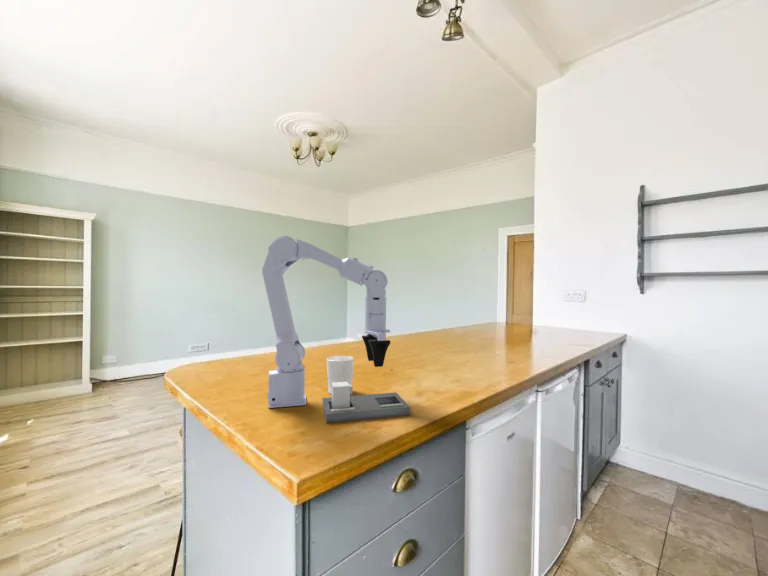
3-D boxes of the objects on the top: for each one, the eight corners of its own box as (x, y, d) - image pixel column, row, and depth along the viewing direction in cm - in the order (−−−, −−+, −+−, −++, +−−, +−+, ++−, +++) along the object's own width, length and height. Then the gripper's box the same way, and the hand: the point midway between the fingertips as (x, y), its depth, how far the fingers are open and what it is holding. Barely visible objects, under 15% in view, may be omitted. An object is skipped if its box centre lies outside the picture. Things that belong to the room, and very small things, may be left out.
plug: (333, 416, 83) (333, 387, 83) (331, 410, 87) (331, 382, 87) (353, 414, 85) (353, 385, 85) (350, 408, 88) (350, 381, 88)
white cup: (327, 388, 106) (327, 355, 106) (353, 387, 107) (353, 355, 107) (325, 396, 98) (325, 361, 98) (353, 395, 99) (353, 360, 99)
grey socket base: (326, 423, 79) (326, 413, 79) (322, 405, 91) (322, 397, 91) (409, 415, 84) (409, 405, 84) (396, 399, 96) (396, 391, 96)
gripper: (397, 315, 90) (396, 368, 89) (383, 312, 104) (382, 357, 104) (370, 316, 88) (370, 369, 88) (359, 312, 102) (359, 358, 102)
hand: (375, 363), depth 95 cm, fingers open, 7 cm apart
